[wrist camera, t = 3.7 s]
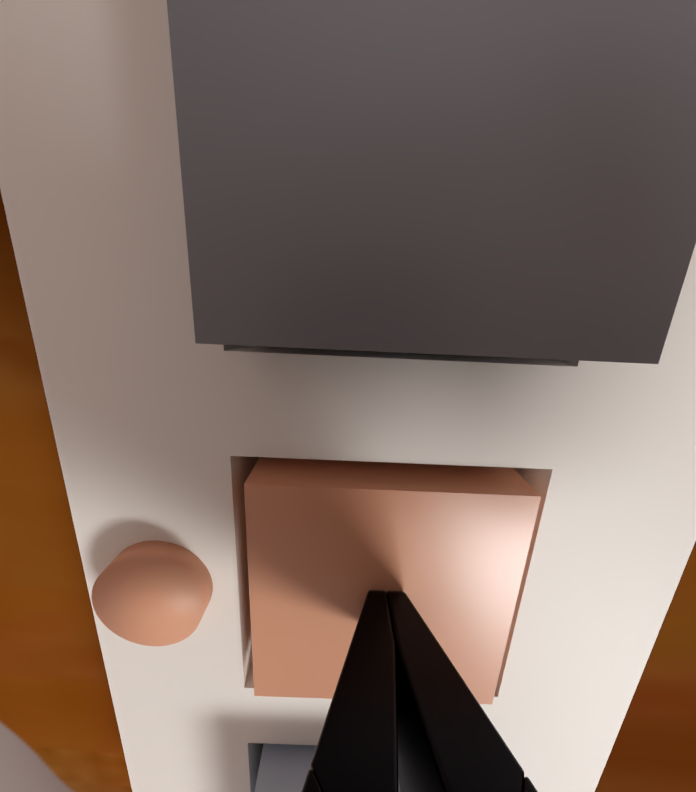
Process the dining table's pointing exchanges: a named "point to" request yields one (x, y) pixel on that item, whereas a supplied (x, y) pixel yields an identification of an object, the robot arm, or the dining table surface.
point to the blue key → (284, 767)
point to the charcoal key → (438, 173)
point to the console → (299, 436)
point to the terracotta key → (381, 562)
